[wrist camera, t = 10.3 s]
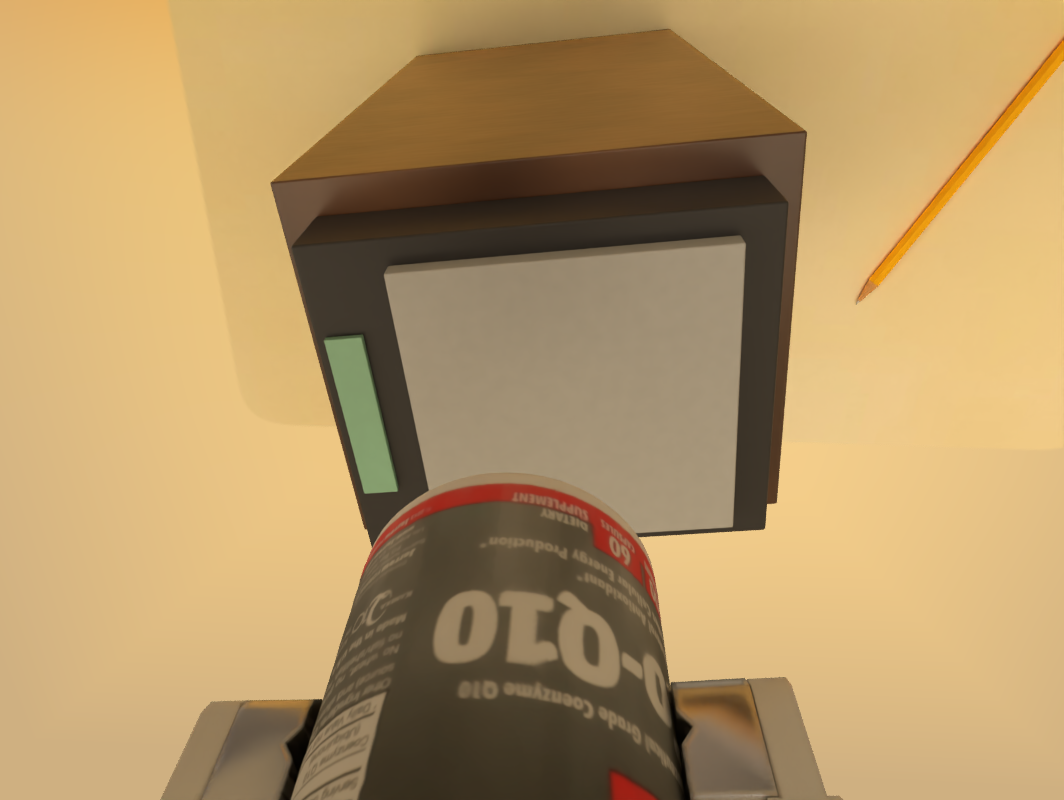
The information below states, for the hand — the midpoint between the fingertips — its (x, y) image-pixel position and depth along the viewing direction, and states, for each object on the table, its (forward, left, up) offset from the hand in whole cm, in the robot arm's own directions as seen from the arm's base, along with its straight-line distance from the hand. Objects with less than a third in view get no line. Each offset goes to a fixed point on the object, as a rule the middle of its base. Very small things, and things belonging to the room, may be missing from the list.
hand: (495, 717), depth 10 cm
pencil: (+25, -5, -40) cm, 47 cm away
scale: (+1, -2, -14) cm, 14 cm away
